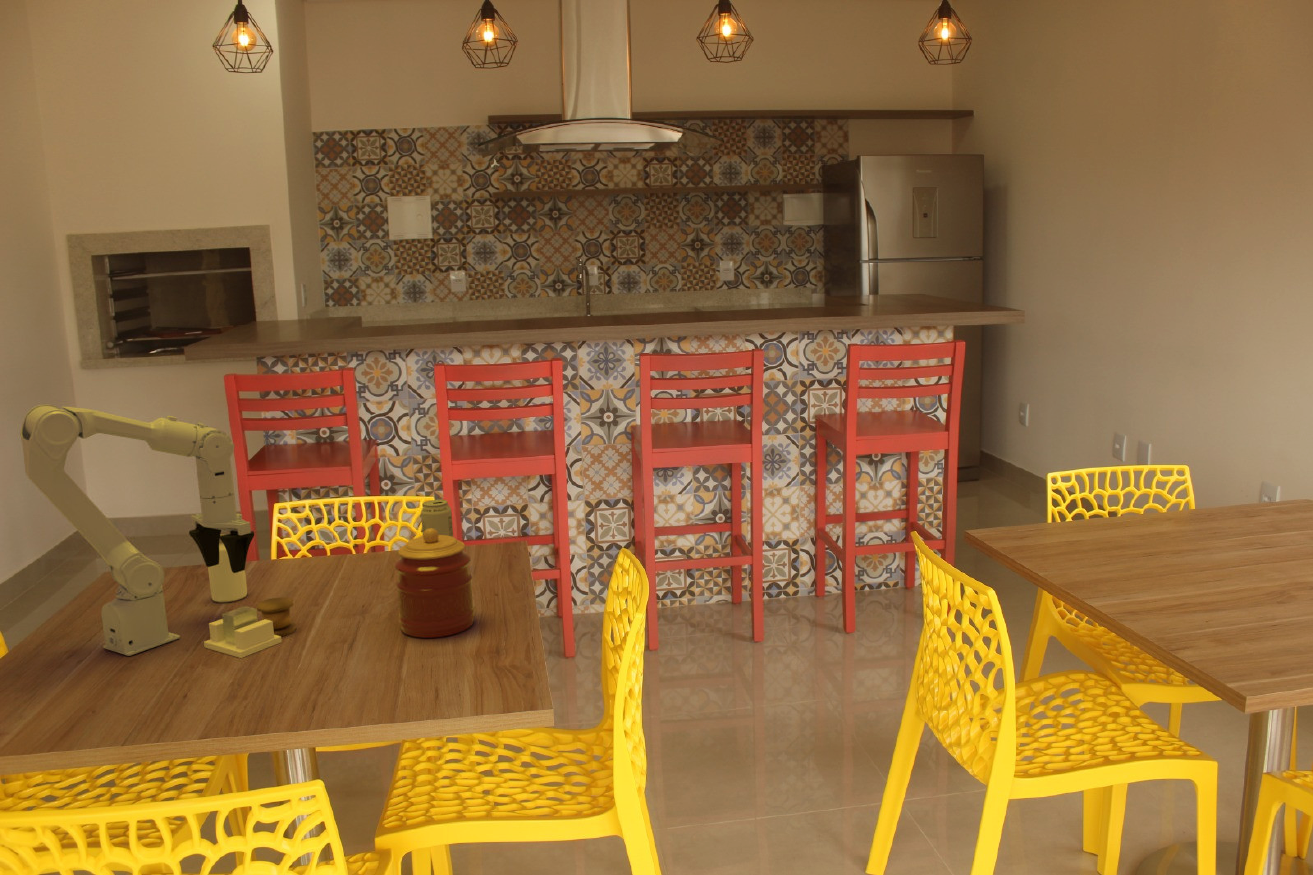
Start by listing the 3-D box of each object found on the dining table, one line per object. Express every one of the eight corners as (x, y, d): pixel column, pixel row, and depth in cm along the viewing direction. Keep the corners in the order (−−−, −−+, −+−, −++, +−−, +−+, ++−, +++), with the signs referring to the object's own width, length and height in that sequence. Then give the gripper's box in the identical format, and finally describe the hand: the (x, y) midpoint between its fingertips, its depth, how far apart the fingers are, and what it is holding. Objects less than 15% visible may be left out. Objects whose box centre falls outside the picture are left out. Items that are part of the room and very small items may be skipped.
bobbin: (274, 640, 181) (271, 611, 180) (252, 634, 184) (249, 605, 183) (303, 628, 186) (300, 600, 185) (281, 623, 189) (278, 595, 188)
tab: (259, 636, 180) (256, 608, 179) (236, 645, 176) (233, 616, 176) (248, 633, 182) (245, 605, 181) (225, 642, 178) (222, 613, 177)
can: (223, 605, 200) (216, 544, 198) (205, 599, 204) (198, 539, 202) (254, 595, 205) (247, 536, 203) (235, 590, 209) (229, 531, 207)
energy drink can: (424, 571, 216) (418, 500, 214) (454, 568, 218) (448, 497, 215) (427, 580, 211) (421, 507, 208) (457, 576, 212) (452, 504, 210)
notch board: (240, 658, 173) (238, 635, 173) (204, 647, 179) (201, 624, 178) (281, 642, 180) (279, 619, 179) (245, 632, 185) (242, 610, 185)
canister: (401, 643, 177) (392, 542, 174) (398, 618, 189) (390, 523, 186) (479, 633, 180) (471, 534, 177) (471, 609, 193) (464, 515, 190)
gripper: (262, 494, 187) (270, 567, 189) (212, 486, 194) (220, 557, 197) (226, 502, 181) (235, 578, 183) (177, 494, 189) (186, 567, 191)
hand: (225, 568), depth 190 cm, fingers open, 7 cm apart
